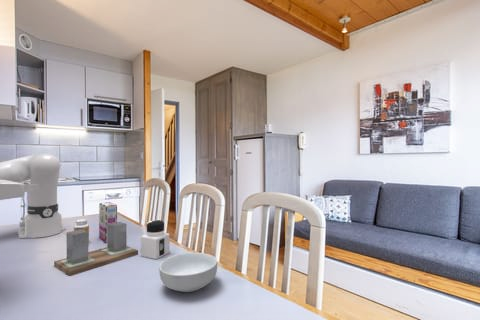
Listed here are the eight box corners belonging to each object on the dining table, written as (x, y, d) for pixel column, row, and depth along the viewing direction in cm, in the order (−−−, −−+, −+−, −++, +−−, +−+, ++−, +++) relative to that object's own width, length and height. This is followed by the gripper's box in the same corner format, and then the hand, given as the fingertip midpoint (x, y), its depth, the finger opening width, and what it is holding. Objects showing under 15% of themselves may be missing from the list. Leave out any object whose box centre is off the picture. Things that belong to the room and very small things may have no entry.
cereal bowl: (186, 269, 91) (186, 248, 91) (227, 281, 83) (228, 258, 83) (146, 290, 76) (146, 266, 76) (191, 307, 68) (191, 280, 68)
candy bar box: (117, 241, 120) (117, 204, 120) (105, 243, 117) (105, 206, 116) (110, 235, 128) (110, 201, 128) (98, 237, 125) (98, 202, 125)
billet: (107, 249, 104) (107, 224, 104) (119, 246, 108) (119, 221, 108) (113, 252, 101) (113, 226, 101) (126, 249, 105) (126, 223, 105)
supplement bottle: (74, 246, 113) (74, 222, 112) (73, 243, 117) (73, 219, 117) (89, 244, 116) (89, 220, 116) (88, 240, 120) (88, 218, 120)
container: (169, 252, 106) (170, 220, 106) (156, 259, 99) (156, 224, 99) (154, 249, 109) (154, 218, 109) (140, 256, 102) (140, 222, 102)
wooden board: (54, 265, 93) (54, 260, 93) (120, 247, 112) (120, 242, 112) (69, 276, 85) (69, 270, 85) (138, 254, 104) (138, 249, 104)
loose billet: (66, 261, 93) (66, 232, 92) (82, 256, 97) (82, 229, 96) (72, 264, 90) (72, 235, 89) (88, 260, 94) (88, 231, 93)
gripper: (-36, 198, 79) (22, 193, 91) (-20, 205, 67) (45, 198, 79) (-37, 176, 79) (22, 174, 91) (-20, 180, 67) (45, 177, 78)
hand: (33, 185), depth 84 cm, fingers open, 8 cm apart
